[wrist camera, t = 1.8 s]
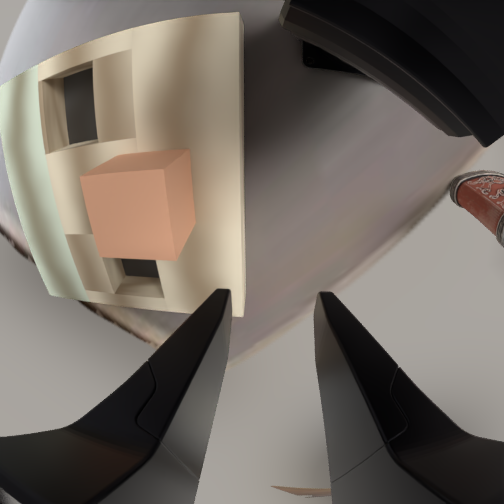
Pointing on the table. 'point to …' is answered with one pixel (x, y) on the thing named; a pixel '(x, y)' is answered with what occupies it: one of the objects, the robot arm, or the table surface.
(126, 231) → the block
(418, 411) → the robot arm
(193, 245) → the cream flat piece
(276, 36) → the table surface
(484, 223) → the lighter
